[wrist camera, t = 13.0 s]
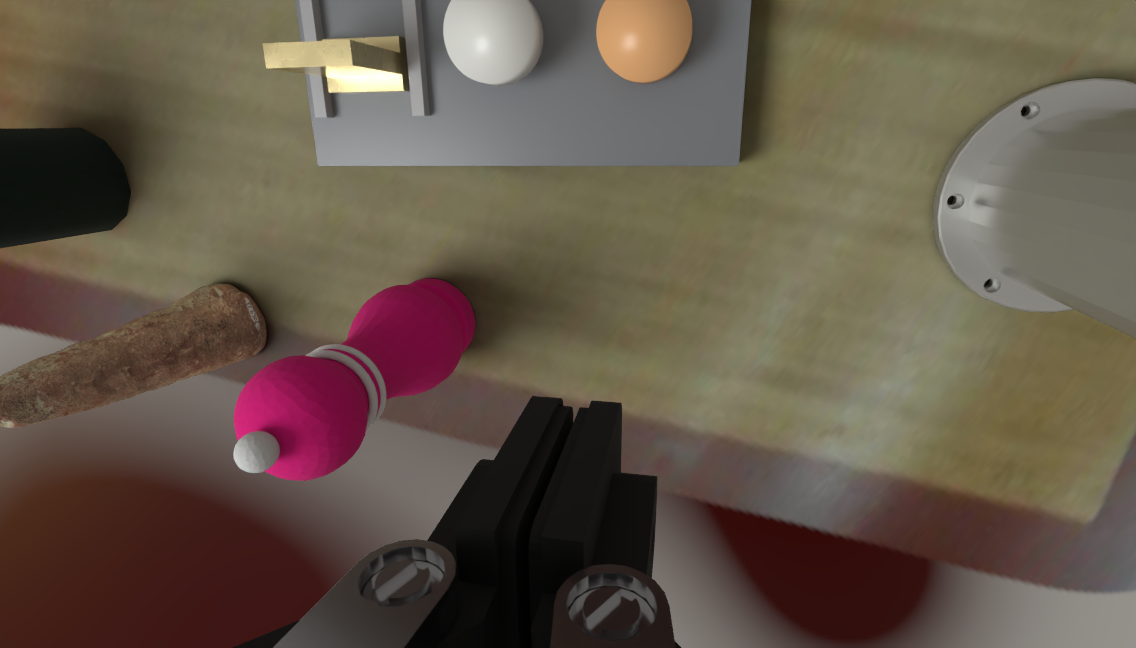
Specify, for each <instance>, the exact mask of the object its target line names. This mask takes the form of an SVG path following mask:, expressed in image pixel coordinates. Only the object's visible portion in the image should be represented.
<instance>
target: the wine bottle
mask: <svg viewBox="0 0 1136 648" xmlns="http://www.w3.org/2000/svg"><path fill="white" fill-rule="evenodd" d="M130 193H131V192H130V188H129V185H128V181H127V177H126V174H125V170H124V167H123V164H122V163H121V161H120V160H119V159H118V158H117V156H116V155H115V154H114V152H113V151H112V150H111V148H110V147H109V146H108V144H107V143H106V142H105V141H104V140H102V139H100V138H99V137H97V136H95V135H93V134H91V133H89V132H88V131H86V130H84V129H82V128H37V129H0V248H5V247H11V246H17V245H23V244H29V243H35V242H41V241H47V240H53V239H59V238H65V237H71V236H77V235H83V234H89V233H95V232H102V231H108V230H112V229H113V228H114V227H115V226H116V225H117V224H118V223H119V222H120V221H121V220H122V219H124V218H125V217H126V214H127V209H128V204H129V198H130Z"/></svg>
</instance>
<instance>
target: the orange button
mask: <svg viewBox="0 0 1136 648" xmlns="http://www.w3.org/2000/svg"><path fill="white" fill-rule="evenodd" d="M596 37H597V44H598V48H599V51H600V53H601V56H602V58H603V59H604V61H605V63H606V64H607V65H608V66H609V68H610V69H612V70H613V71H614V72H615V73H616V74H618V75H619V76H621V77H622V78H623V79H625V80H627V81H630V82H633V83H638V84H651V83H655V82H658V81H661V80H663V79H665V78H667V77H668V76H670V75H671V74H672V73H674V72H675V71H676V70H677V69H678V68H679V66H680V65H681V64H682V62H683V61H684V59H685V58H686V56H687V54H688V51H689V48H690V45H691V41H692V15H691V11H690V7H689V5H688V2H687V0H605V2H604V4H603V6H602V8H601V10H600V13H599V16H598V20H597V27H596Z"/></svg>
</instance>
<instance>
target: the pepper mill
mask: <svg viewBox="0 0 1136 648" xmlns="http://www.w3.org/2000/svg"><path fill="white" fill-rule="evenodd" d="M474 331H475V317H474V312H473V310H472V307H471V305H470V303H469V301H468V300H467V298H466V297H465V296H464V295H463V293H462V292H461V291H459V290H458V289H457V288H456V287H454V286H453V285H451V284H449V283H447V282H445V281H442V280H439V279H430V278H427V279H421V280H417V281H415V282H413V283H411V284H409V285H398V286H393V287H390V288H387V289H384V290H382V291H381V292H379V293H377V294H376V295H375V296H373V297H372V298H371V299H369V300H368V301H367V302H366V303H365V304H364V305H363V306H362V308H361V309H360V311H359V312H358V314H357V315H356V317H355V318H354V320H353V323H352V325H351V328H350V331H349V335H348V339H347V340H346V341H344V342H343V343H342V344H341V345H340V344H329V345H324V346H321V347H319V348H317V349H315V350H314V351H312V352H311V353H309V354H307V355H303V356H291V357H286V358H283V359H280V360H278V361H275V362H273V363H271V364H269V365H267V366H266V367H264V368H263V369H262V370H260V371H259V372H258V373H256V374H255V375H254V376H253V377H252V378H251V379H250V380H249V381H248V382H247V384H246V385H245V387H244V388H243V390H242V391H241V393H240V395H239V398H238V400H237V403H236V407H235V412H234V425H235V432H236V437H237V439H238V442H237V444H236V445H235V448H234V460H235V462H236V463H237V465H238V466H239V467H240V469H242V470H244V471H246V472H250V473H258V472H263V471H266V472H268V473H269V474H272V475H274V476H276V477H279V478H282V479H288V480H303V481H306V480H311V479H316V478H319V477H322V476H325V475H327V474H329V473H331V472H333V471H335V470H336V469H338V468H339V467H340V466H342V465H343V464H345V463H346V462H347V461H348V460H349V459H350V458H351V457H352V456H353V455H354V454H355V452H356V451H357V450H358V448H359V447H360V445H361V443H362V440H363V438H364V436H365V432H366V430H367V429H368V428H369V427H370V426H371V424H373V423H374V422H376V421H377V420H378V418H379V417H380V416H381V414H382V412H383V410H384V408H385V404H386V400H387V399H390V398H392V397H399V396H410V395H415V394H419V393H422V392H425V391H427V390H429V389H431V388H434V387H435V386H437V385H438V384H439V383H441V382H442V381H443V380H445V379H446V378H447V377H448V376H449V375H450V374H451V373H452V372H453V371H454V369H455V368H456V366H457V364H458V362H459V360H460V357H461V354H462V353H463V352H464V351H465V350H466V349H467V347H468V346H469V344H470V343H471V341H472V339H473V336H474Z"/></svg>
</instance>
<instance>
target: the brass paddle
mask: <svg viewBox="0 0 1136 648" xmlns="http://www.w3.org/2000/svg"><path fill="white" fill-rule="evenodd" d="M263 49H264V56H265V62H266V68H267V69H274V70H281V71H288V72H295V73H302V74H309V75H317V76H324V77H327V82H328V90H329V93H367V92H406V91H409V81H408V70H407V59H406V48H405V38H403V37H400V36H388V37H366V38H344V39H322V41H309V42H286V43H264V44H263Z"/></svg>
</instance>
